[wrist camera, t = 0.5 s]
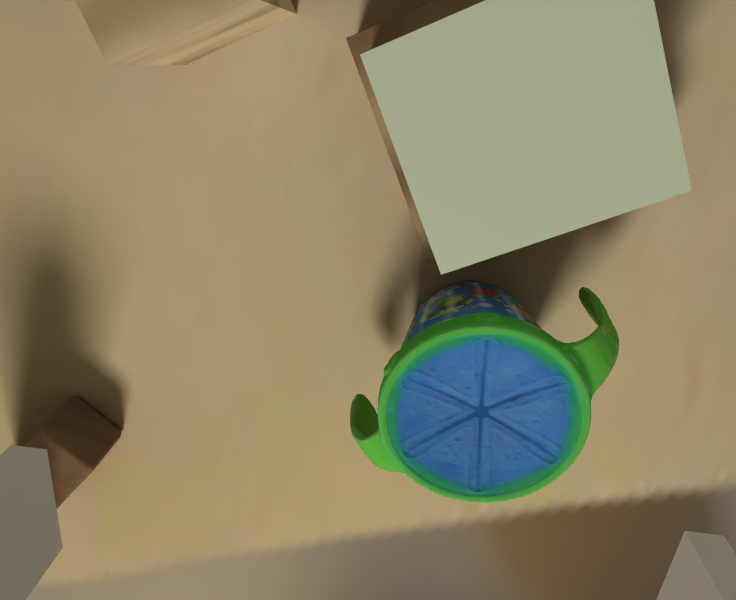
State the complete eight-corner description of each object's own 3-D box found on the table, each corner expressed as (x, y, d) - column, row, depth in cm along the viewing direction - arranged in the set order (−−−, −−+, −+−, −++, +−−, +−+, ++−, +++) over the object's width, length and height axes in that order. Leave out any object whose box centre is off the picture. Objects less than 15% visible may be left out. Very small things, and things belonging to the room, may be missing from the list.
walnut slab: (356, 41, 32) (346, 38, 28) (592, -62, 30) (623, -84, 25) (427, 236, 36) (428, 262, 32) (641, 162, 34) (676, 178, 29)
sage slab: (369, 55, 28) (360, 54, 23) (600, -45, 26) (640, -67, 21) (437, 243, 31) (440, 274, 27) (648, 169, 29) (691, 190, 24)
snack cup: (391, 432, 42) (383, 540, 32) (326, 307, 38) (295, 386, 29) (610, 358, 38) (672, 456, 29) (559, 213, 35) (610, 269, 25)
